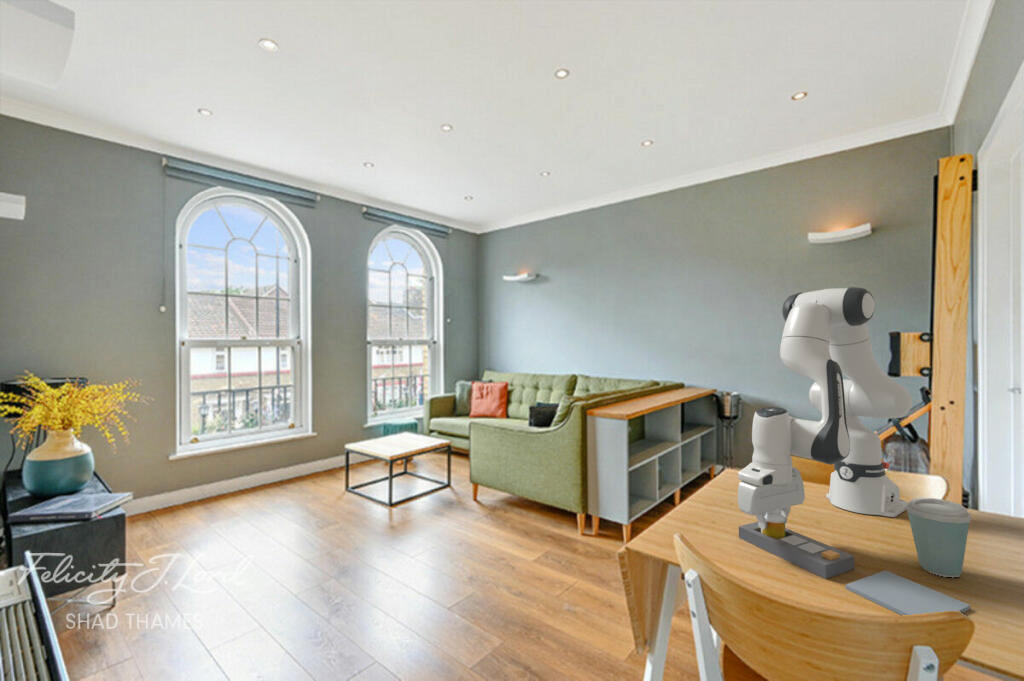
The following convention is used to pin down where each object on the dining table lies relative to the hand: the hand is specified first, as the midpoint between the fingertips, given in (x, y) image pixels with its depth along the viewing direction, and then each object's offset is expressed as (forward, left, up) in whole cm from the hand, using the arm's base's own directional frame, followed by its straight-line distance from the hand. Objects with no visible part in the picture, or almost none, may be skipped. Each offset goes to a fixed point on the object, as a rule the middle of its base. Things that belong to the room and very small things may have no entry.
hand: (772, 525), depth 113 cm
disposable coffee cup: (-21, +24, -5) cm, 32 cm away
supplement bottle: (0, 0, -5) cm, 5 cm away
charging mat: (-2, +27, -5) cm, 27 cm away
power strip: (0, +5, -5) cm, 7 cm away
